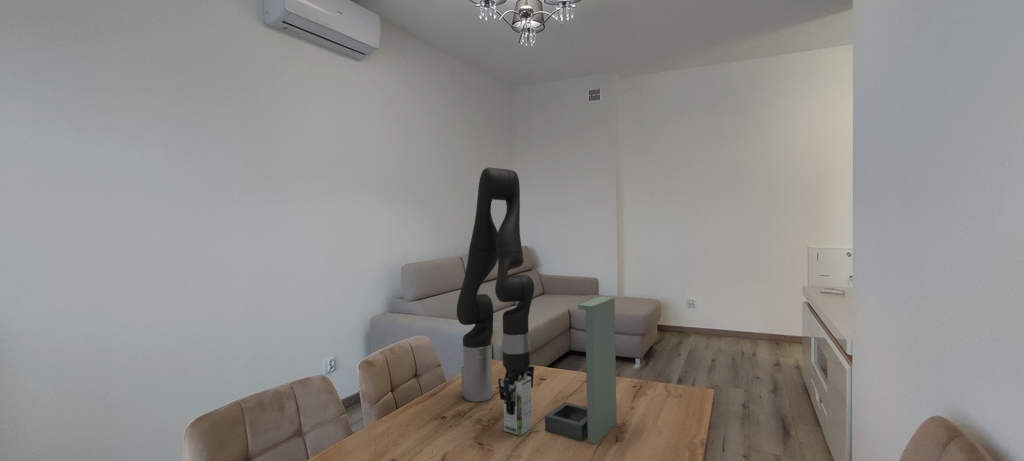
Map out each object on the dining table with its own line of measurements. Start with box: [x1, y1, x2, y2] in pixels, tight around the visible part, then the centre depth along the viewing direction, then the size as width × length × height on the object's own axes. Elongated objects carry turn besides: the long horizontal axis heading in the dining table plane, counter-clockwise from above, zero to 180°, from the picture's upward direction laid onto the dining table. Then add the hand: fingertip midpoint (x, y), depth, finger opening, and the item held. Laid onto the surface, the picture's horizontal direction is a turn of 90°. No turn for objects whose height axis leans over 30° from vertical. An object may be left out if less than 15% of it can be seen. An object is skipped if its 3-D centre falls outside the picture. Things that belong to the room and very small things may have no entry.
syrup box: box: [503, 377, 533, 437], centre depth 124 cm, size 6×6×14 cm
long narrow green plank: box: [577, 295, 618, 445], centre depth 121 cm, size 4×14×35 cm, turn 145°
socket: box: [544, 401, 588, 442], centre depth 124 cm, size 11×11×4 cm
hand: (517, 409), depth 124 cm, fingers closed on syrup box, 6 cm apart
